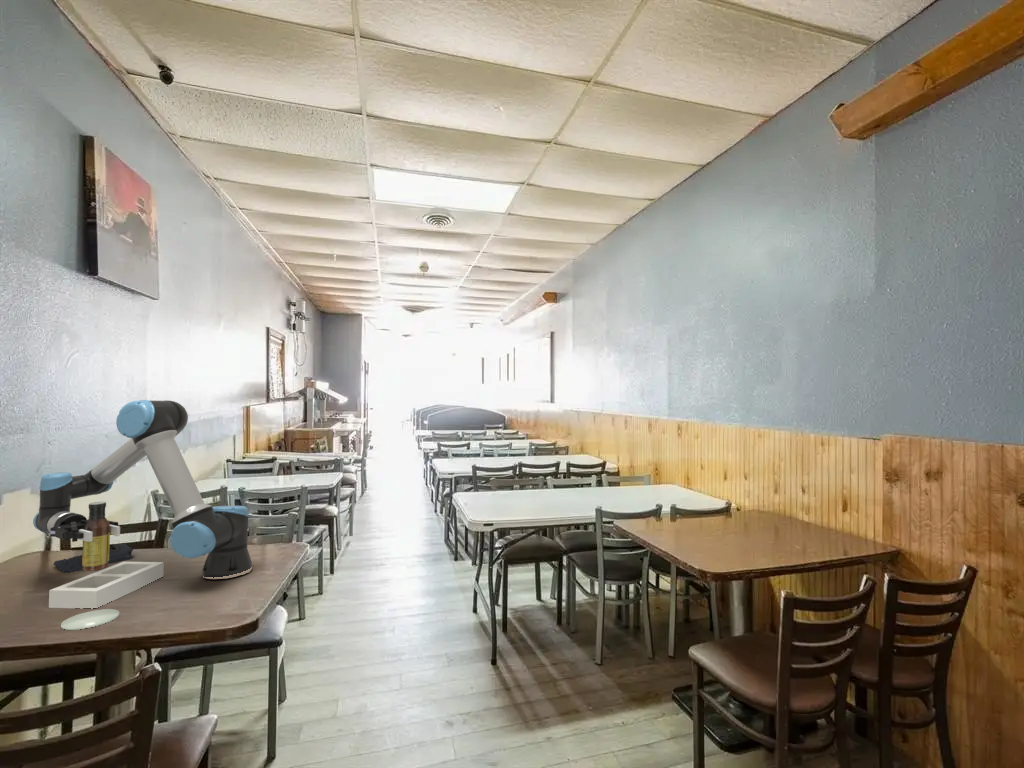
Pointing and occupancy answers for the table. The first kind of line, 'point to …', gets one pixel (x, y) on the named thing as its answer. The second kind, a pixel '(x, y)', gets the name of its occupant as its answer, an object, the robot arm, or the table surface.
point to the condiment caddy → (105, 585)
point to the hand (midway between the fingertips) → (104, 534)
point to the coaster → (90, 619)
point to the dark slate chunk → (115, 555)
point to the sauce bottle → (96, 539)
